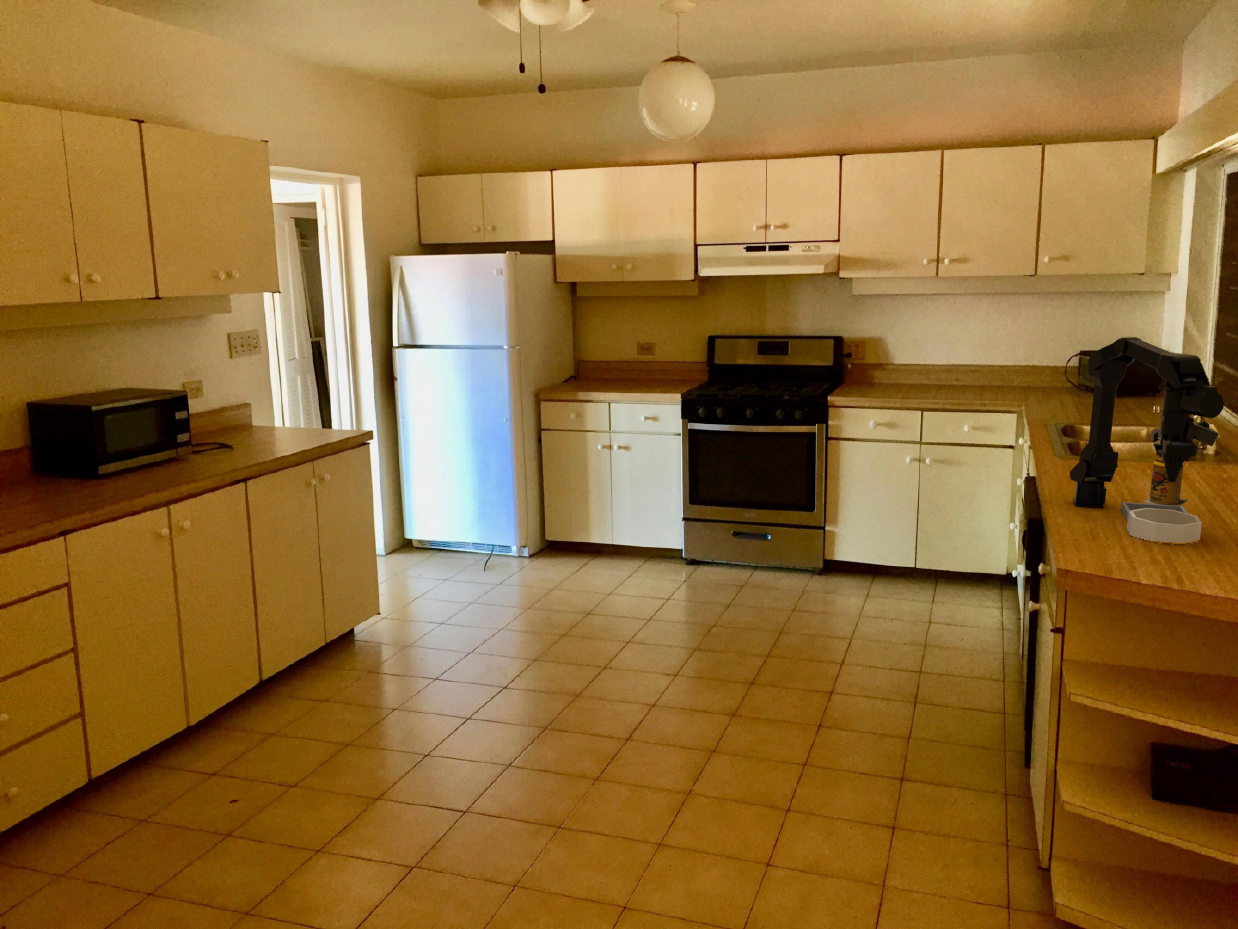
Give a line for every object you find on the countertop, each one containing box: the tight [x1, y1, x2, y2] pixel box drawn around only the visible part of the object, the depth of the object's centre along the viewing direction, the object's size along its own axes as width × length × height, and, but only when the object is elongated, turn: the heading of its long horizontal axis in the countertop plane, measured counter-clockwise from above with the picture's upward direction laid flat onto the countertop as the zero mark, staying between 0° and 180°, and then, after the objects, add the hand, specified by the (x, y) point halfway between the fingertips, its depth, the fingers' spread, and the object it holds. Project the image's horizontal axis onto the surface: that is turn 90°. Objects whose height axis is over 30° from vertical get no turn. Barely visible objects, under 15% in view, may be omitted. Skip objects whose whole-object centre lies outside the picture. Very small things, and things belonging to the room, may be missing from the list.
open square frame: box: [1120, 501, 1190, 522], centre depth 238 cm, size 14×14×2 cm
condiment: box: [1143, 450, 1189, 507], centre depth 223 cm, size 7×8×12 cm
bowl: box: [1126, 508, 1203, 543], centre depth 224 cm, size 14×14×4 cm
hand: (1169, 478), depth 223 cm, fingers closed on condiment, 6 cm apart
